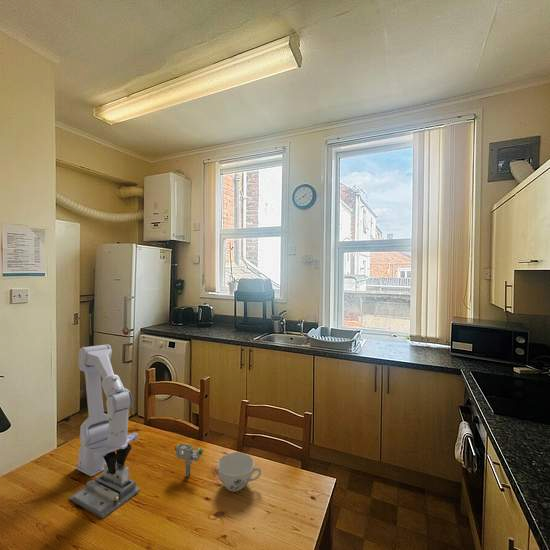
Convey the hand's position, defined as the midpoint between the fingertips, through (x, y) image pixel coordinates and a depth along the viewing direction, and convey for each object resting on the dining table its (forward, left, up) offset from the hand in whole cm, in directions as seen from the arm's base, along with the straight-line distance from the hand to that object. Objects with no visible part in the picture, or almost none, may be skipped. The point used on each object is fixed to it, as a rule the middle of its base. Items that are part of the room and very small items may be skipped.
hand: (115, 470), depth 97 cm
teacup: (+35, +21, -6) cm, 41 cm away
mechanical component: (+16, +17, -6) cm, 24 cm away
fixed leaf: (0, -3, -6) cm, 7 cm away
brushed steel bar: (0, 0, -3) cm, 3 cm away
